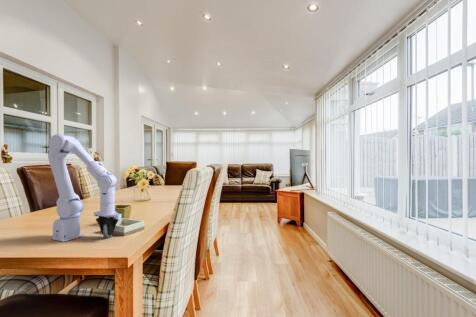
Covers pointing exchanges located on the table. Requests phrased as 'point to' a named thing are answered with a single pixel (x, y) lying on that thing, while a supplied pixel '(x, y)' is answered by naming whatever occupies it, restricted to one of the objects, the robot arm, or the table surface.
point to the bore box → (128, 226)
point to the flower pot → (123, 210)
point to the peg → (105, 232)
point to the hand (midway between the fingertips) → (107, 234)
